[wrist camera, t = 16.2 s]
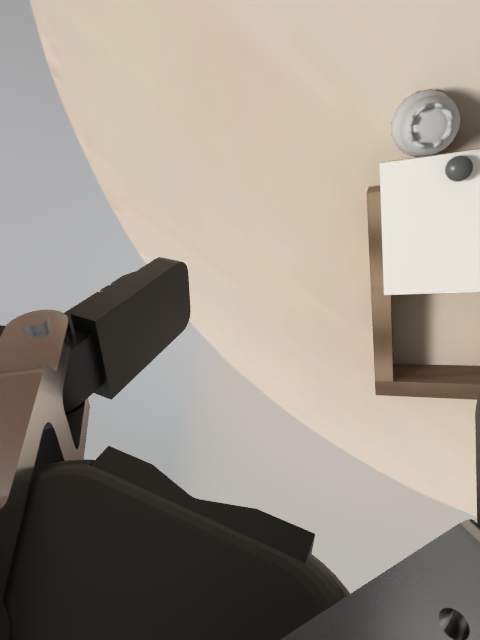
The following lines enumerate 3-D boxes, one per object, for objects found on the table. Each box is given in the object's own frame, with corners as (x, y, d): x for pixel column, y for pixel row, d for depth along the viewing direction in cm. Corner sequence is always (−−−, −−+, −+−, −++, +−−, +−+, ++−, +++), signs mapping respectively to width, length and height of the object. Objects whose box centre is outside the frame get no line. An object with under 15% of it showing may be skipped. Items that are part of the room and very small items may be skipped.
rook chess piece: (471, 107, 30) (493, 104, 23) (430, 167, 32) (439, 181, 25) (415, 77, 30) (420, 66, 23) (378, 139, 32) (374, 145, 25)
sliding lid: (379, 162, 30) (379, 164, 29) (545, 138, 26) (551, 139, 25) (383, 292, 34) (383, 297, 33) (529, 286, 30) (534, 292, 29)
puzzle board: (368, 187, 34) (366, 192, 31) (617, 155, 28) (639, 160, 26) (377, 377, 41) (375, 394, 38) (577, 383, 35) (592, 404, 32)
